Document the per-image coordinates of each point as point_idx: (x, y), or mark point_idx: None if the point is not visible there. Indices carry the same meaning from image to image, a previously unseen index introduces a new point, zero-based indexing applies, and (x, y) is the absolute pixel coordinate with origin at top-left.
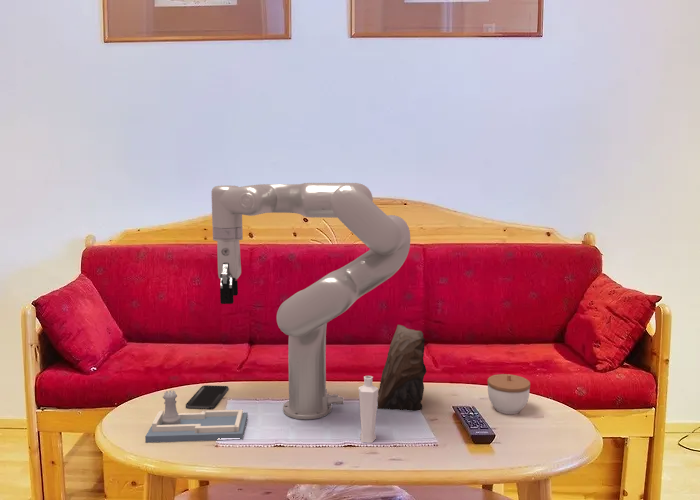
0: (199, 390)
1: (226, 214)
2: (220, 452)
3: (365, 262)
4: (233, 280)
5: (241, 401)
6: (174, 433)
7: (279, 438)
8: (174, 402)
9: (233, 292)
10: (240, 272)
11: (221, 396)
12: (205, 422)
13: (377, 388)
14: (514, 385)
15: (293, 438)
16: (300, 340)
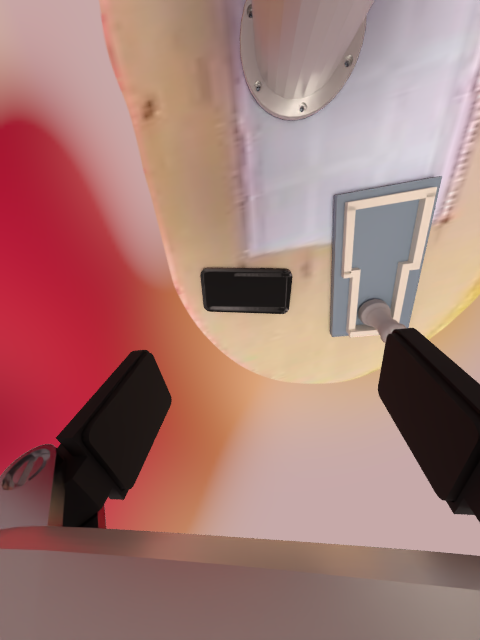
0: (224, 310)
1: None
2: (476, 205)
3: None
4: (89, 464)
5: (255, 230)
6: (407, 296)
7: (451, 86)
8: (394, 321)
9: (149, 380)
10: (46, 628)
11: (247, 269)
12: (372, 262)
13: None
14: None
15: (462, 42)
16: None
